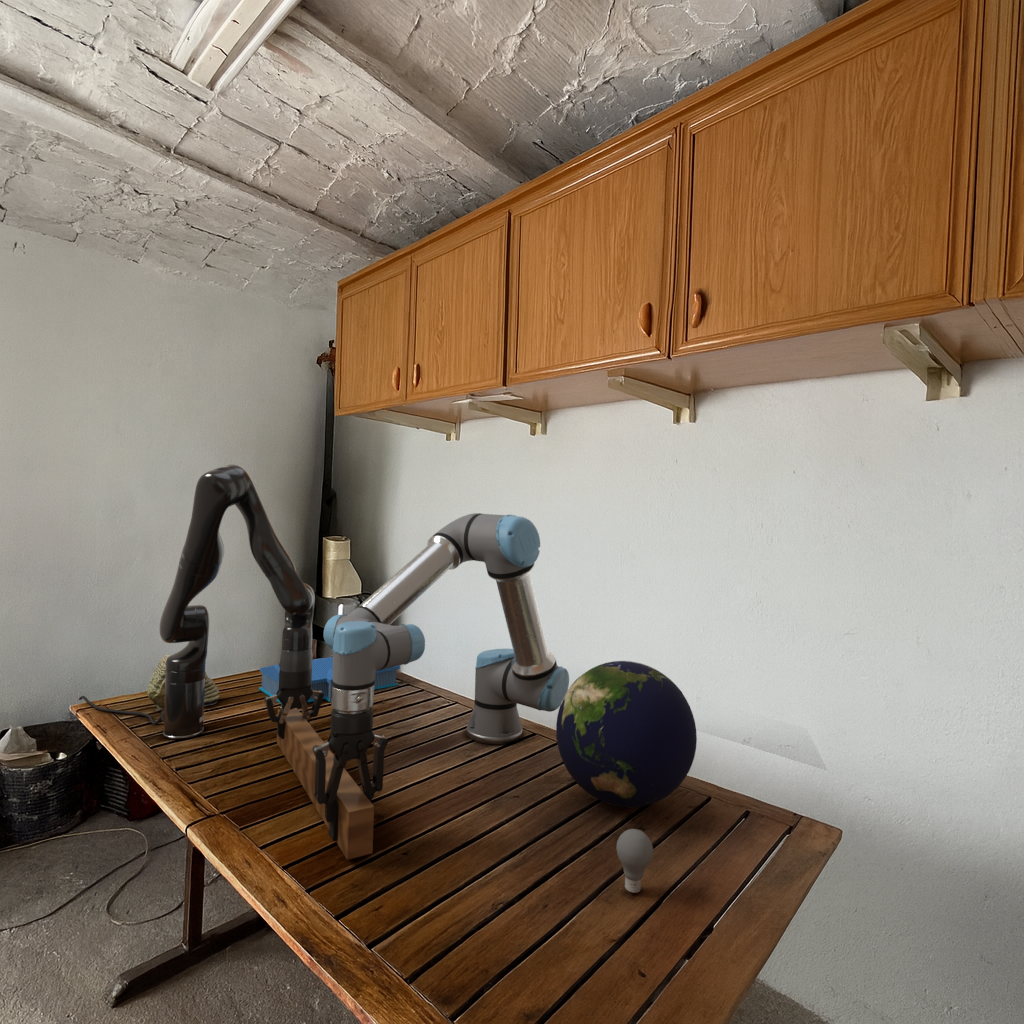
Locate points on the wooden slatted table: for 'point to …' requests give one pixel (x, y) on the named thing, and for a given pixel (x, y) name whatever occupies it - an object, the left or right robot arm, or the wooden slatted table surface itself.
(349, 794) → the post
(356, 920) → the wooden slatted table surface
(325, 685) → the model building
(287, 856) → the wooden slatted table surface
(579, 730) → the globe
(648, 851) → the light bulb
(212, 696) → the fossil
